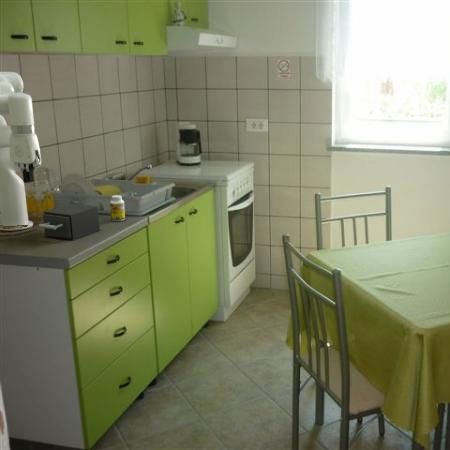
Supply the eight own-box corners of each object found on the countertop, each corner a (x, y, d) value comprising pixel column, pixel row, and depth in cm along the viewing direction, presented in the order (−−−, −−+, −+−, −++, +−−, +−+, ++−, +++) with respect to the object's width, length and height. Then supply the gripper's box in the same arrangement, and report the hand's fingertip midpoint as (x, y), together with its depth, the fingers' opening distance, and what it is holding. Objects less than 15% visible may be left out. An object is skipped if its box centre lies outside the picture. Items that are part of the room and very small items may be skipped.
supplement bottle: (108, 220, 243) (106, 196, 241) (118, 217, 248) (116, 194, 245) (118, 222, 241) (116, 198, 238) (128, 219, 245) (126, 195, 243)
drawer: (59, 241, 211) (57, 220, 209) (35, 238, 215) (33, 217, 213) (94, 229, 227) (92, 209, 225) (70, 226, 231) (69, 207, 229)
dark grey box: (73, 240, 216) (70, 214, 214) (46, 236, 220) (43, 211, 218) (99, 230, 229) (97, 206, 227) (74, 226, 234) (71, 203, 231)
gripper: (-2, 130, 203) (4, 182, 207) (31, 132, 197) (37, 185, 202) (15, 128, 209) (21, 178, 214) (48, 130, 204) (53, 182, 209)
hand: (28, 182), depth 208 cm, fingers closed
